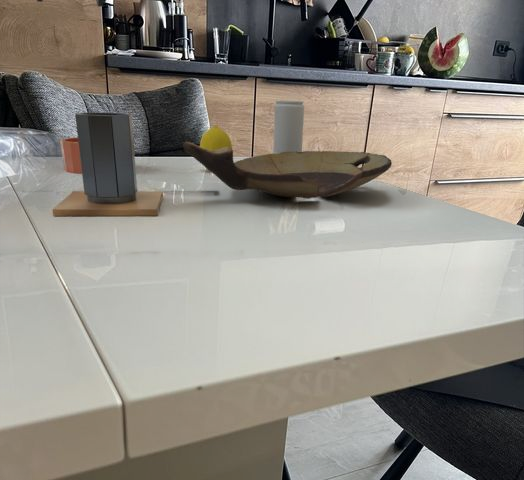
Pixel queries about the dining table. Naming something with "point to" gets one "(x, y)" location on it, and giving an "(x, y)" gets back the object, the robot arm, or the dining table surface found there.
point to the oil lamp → (293, 170)
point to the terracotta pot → (71, 155)
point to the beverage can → (288, 126)
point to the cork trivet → (110, 206)
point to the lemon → (215, 139)
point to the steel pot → (107, 157)
